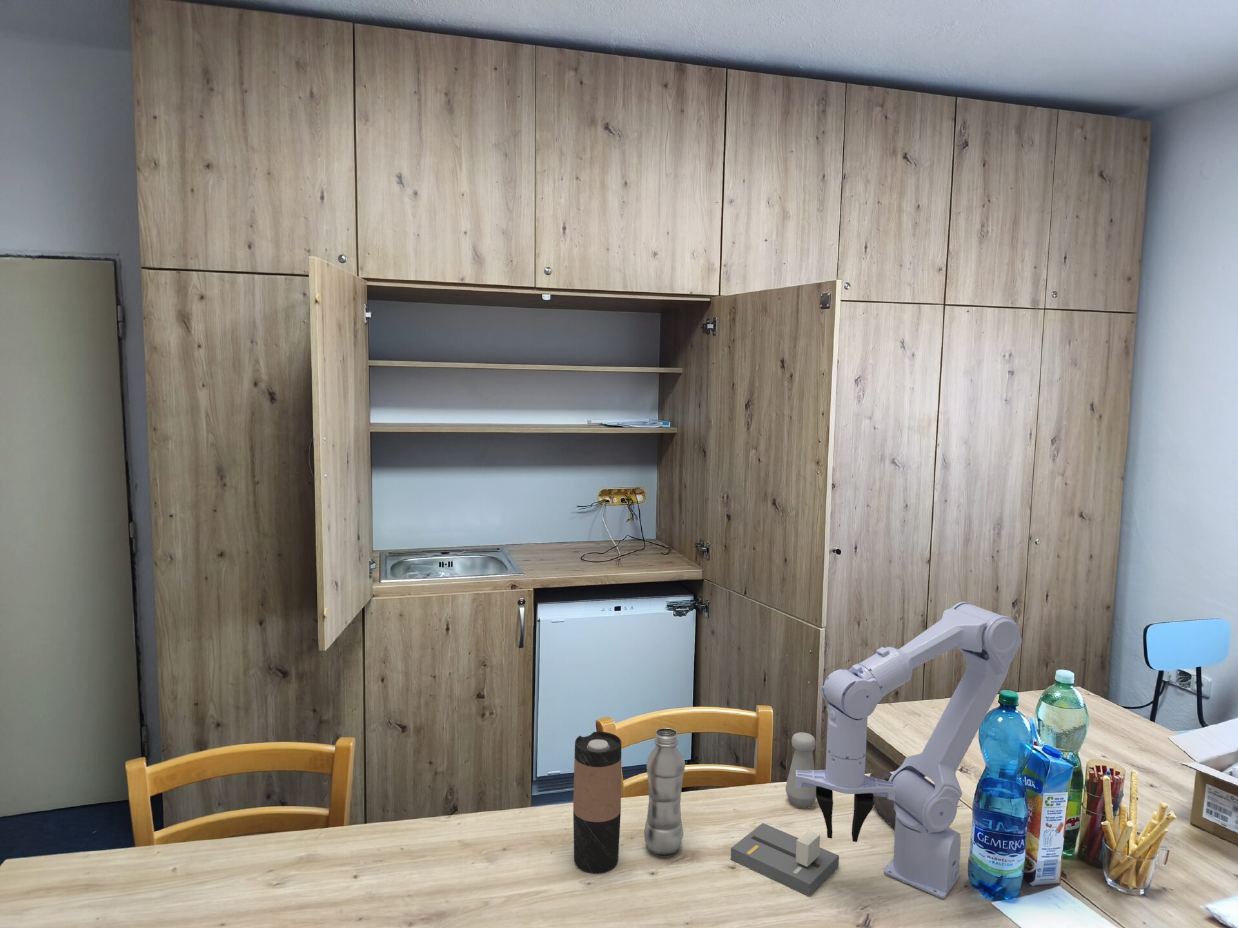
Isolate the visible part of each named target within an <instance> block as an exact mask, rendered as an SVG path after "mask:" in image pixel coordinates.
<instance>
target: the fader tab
mask: <svg viewBox="0 0 1238 928" xmlns="http://www.w3.org/2000/svg"><path fill="white" fill-rule="evenodd" d="M798 838H799V839H798V840H797V843H796V862H798V863H800V864H802V865H804V866H806V867H808V866H809V865H810V864H811V863H812V862H813V861H814V860H815V859H816V858H817V857H818V856H819V848H821V846H820V845H821V844H820V842H821V840H820V839H821V834H819V833H817V832H814V831H812V830H810V829H808V830H807V831H806V832H805V833H804V834H802V835H801V836H800V837H798Z"/></svg>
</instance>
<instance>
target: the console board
mask: <svg viewBox="0 0 1238 928" xmlns="http://www.w3.org/2000/svg"><path fill="white" fill-rule="evenodd" d="M799 838H800V837H796V836H795V835H792V834H789V833H787V832H785V831H782V830H780V829H778V828H775V827H773V826H770V825H769V824H766V823H764V822H762V823H760V824H759V825H758V826H757V827H756V828H754V829H753V830H751V831H750V832H749V833H748V834H746V835H745V836H744V837H743V838H742V839H740V840H739V841H737V843H735V844H734V845H733V846H731V848H730V860H731V861H733V862H735V863H738V864H739V865H741V866H744V867H745V868H748V869H750V870H752V871H754V872H756V873H759V874H760V875H763V876H765V877H767V878H768V879H769V878H770V880H773V881H775V882H777V883H779V884H782V885H783V886H786V887H788V888H789V889H792V890H794V891H796V892H799V893H801V894H802V895H805V896H806V897H809V898H810V897H811V896H812V895H813V894H814V893H815V892H816V891H817V890H818V889H819V888H820V887H821V886H822V885H823V884H824V883H825V882H826V881H827V880H828V879H829V878H830V876H832V874H834V872H835V871H837V870H838V869H839V867H840V865H839V863H840V855H839V854H838V853H834V852H832V851H830V850H827V849H825V848H823V847H820V848H819V856H818V857H817V858H816V859H815V860H814V861H813V862H812V863H811V864H810V865H809V866H808V867H806V866H804V865H802V864H800V863H798V862H796V843H797V840H798V839H799Z"/></svg>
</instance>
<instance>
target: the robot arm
mask: <svg viewBox="0 0 1238 928" xmlns="http://www.w3.org/2000/svg"><path fill="white" fill-rule="evenodd" d="M1022 640H1023V639H1022V637H1021V633H1020V629H1019V626H1018V624H1017V622H1016V621H1015V620H1014V619H1013V618H1012V617H1010V616H1007V615H1001V614H998V613H996V612H993V611H991V610H987V609H985V608H983V607H979V606H978V605H974V604H973V603H971V602H969V601H960V602H958V603H957V602H956V604H954V605H953V606H952V607H951V608H947V609H945V610H944V611H943V612H942V615H941V619H940V620H938V621H937V622H936V623H934V624H933V625H931V626H930V627H928V628H927V629H926V630H924V631H923V632H921V633H920V634H919V635H917V636H915V637H914V638H913V639H912V640H910V641H909V642H907V643H906V644H904V645H903V646H901V647H900V648H895V647H891V646H887V647H883V646H881V647H880V648H878V649H876V652H875V653H874V654H873V655H871V656H869V657H868V658H865V659H864V660H863V661H861V662H858V663H855V664H853V665H851V668H849V669H845V668H844V669H842V668H841V669H837V670H835V671H832V672H831V673H829V675H827V677H826V678H825V681H824V684H823V686H820V693H821V696H822V699H823V700H824V701H825V702H826V703H825V704H826V712H827V727H826V729H827V733H826V734H827V735H826V753H825V754H826V756H825V769H817V770H816V769H815V770H813V771H800V770H796V778H795V788H803V787H810V788H816V798H815V799H816V801H817V804H818V806H819V808H820V811H821V813H822V816H823V818H824V823H825V828H826V837H827V839H833V809H834V799H833V797H834V795H833V794H834V792H837V793H840V794H844V795H846V794H848V795H853V815H852V824H851V838H852V842H853V843H858V840H859V835H860V833H861V830H862V827H863V825H864V823H865V821H866V819H867V817H868V816H869V814H870V813H871V812H872V810H873V808H874V801H873V796H881V797H887V799H888V800H892V801H893V802H894V810H895V812H896V821H895V828H894V841H893V858H892V859H891V861H890V862H889V863H888V864H887V865H886V866H885V867H884V868H883V874H885V875H887V876H888V877H891V878H894V879H895V880H898V881H900V882H902V883H904V884H905V883H906V884H908V885H910V886H913V887H915V888H917V889H919V890H921V891H924V892H926V893H929V894H931V895H933V896H936V897H937V898H940V899H945V898H946V897H947V895H948V894H949V892H950V891H951V890H952V888H953V887H954V885H955V884H956V883H957V881H958V880H959V878H960V877H961V873H960V863H961V862H960V860H961V847H962V846H961V845H962V840H961V838H962V837H961V835H960V833H959V832H958V831H956V830H954V829H953V828H951V827H950V826H951V825H952V824H953V823H954V821H955V818H956V816H957V812H958V804H959V801H960V799H961V798H962V795H963V791H962V788H961V785H960V783H959V780H958V778H957V775H956V772H957V771H958V768H959V767H960V765H961V763H962V762H963V759H964V757H965V755H966V754H967V752H968V750H969V748H970V747H971V745H972V743H973V740H974V739H975V737H976V736H977V733H978V731H979V729H980V727H981V725H982V723H983V721H985V720H984V719H985V718H986V715H987V714H988V712H989V710H990V708H991V706H992V704H993V702H994V700H995V699H996V697H997V696H998V693H999V691H1000V690H1001V688H1002V685H1003V684H1004V682H1005V680H1006V678H1007V676H1008V673H1009V668H1010V665H1011V664H1012V662H1013V660H1014V657H1015V656H1016V654H1017V652H1018V651H1019V648H1020V646H1021V644H1022V643H1023V641H1022ZM953 649H958V650H959V652H960V653H961V655H963V658H964V661H965V664H966V669H965V671H964V673H963V675H962V677H961V679H960V680H959V683H958V684H957V686H956V688H955V690H954V692H953V694H952V696H951V697H950V699H949V701H948V703H947V705H946V707H945V709H944V710H943V713H942V714H941V716H940V717H939V719H938V722H937V723H936V726H935V728H934V729H933V731H932V733H931V735H930V737H929V739H928V740H927V743H926V744H925V745H924V748H923V750H922V752H920V753H917V754H913V755H909V756H906V757H905V759H904V760H903V762H902V764H901V765H900V766H899V767H898V768H897V769H896V770H895V771H894V772H892V773H891V774H892V775H891V777H890V778H889V781H885V780H881V779H877V778H873V777H870V775H866V773H865V772H866V760H867V759H866V758H867V757H866V756H867V754H866V753H867V735H868V717H869V716H871V715H872V713H874V711H875V710H876V708H877V706H878V704H879V702H881V701H882V699H883V697H884V696H887V695H888V694H889V693H891V692H893V691H894V690H896V689H898V688H899V687H901V686H903V685H904V684H906V683H908V682H909V681H911V679H912V675H913V672H914V671H913V669H915V668H918V667H919V666H921V665H923V664H926V663H927V662H929V661H932V660H933V659H936V658H937V657H939V656H941V655H943V654H946V653H947V652H950V651H951V650H953ZM927 778H928V779H929V780H928V779H927ZM930 780H931V781H932V782H933V783H932V782H931V781H930Z"/></svg>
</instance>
